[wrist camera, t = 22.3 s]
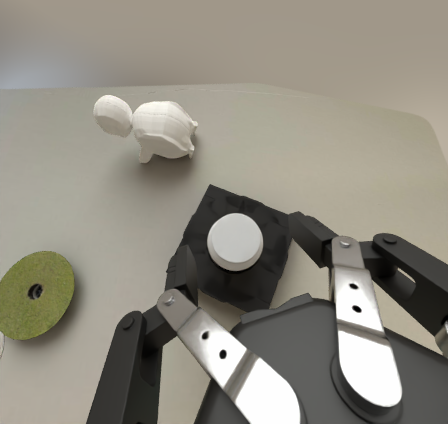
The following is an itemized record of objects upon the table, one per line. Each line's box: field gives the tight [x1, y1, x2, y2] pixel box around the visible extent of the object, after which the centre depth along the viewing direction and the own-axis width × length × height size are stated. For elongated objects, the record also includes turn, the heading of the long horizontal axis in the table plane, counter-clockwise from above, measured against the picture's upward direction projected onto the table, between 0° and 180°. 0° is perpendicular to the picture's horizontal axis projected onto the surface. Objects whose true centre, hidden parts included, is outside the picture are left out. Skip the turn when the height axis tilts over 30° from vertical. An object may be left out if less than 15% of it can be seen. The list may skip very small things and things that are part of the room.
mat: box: [0, 251, 75, 340], centre depth 24 cm, size 11×11×2 cm
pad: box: [166, 184, 292, 313], centre depth 25 cm, size 14×14×3 cm
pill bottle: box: [207, 213, 263, 271], centre depth 21 cm, size 6×6×11 cm
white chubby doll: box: [94, 95, 197, 163], centre depth 28 cm, size 9×8×15 cm
